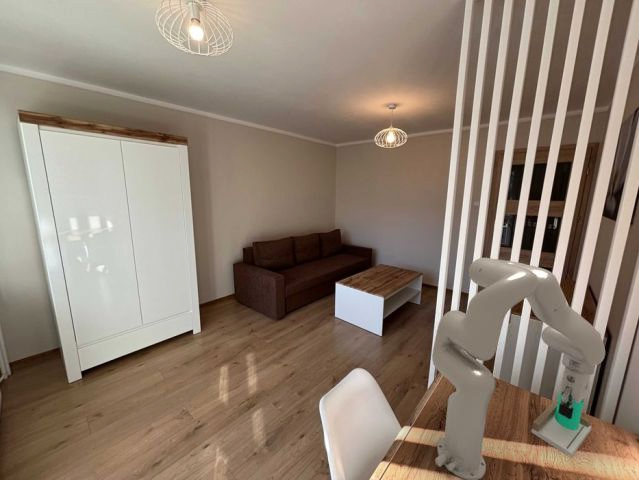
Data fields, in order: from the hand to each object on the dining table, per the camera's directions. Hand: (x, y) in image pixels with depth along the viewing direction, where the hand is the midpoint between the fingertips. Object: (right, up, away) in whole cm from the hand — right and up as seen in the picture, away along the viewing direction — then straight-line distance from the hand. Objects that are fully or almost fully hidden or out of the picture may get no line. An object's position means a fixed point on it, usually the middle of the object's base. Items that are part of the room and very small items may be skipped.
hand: (568, 411), depth 89 cm
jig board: (-4, -6, -1) cm, 7 cm away
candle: (0, -4, +1) cm, 5 cm away
